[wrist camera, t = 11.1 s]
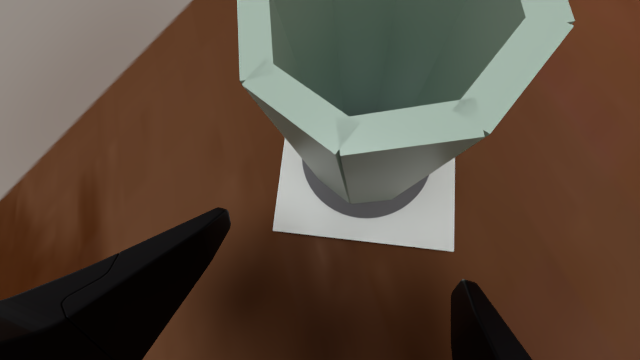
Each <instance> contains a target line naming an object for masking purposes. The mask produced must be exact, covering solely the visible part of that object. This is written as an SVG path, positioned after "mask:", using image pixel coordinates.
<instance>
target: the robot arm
mask: <svg viewBox="0 0 640 360" xmlns="http://www.w3.org/2000/svg"><path fill="white" fill-rule="evenodd" d="M230 226H231V222H230V217H229V212H228V210H226V209H223V208H215V209H213V210H211V211H209V212H206V213H204V214H202V215H200V216H198V217H196V218H193V219H191V220H189V221H187V222H185V223H183V224H180V225H178V226H176V227H174V228H172V229H169V230H167V231H165V232H163V233H161V234H159V235H156V236H154V237H152V238H150V239H148V240H146V241H143V242H141V243H139V244H137V245H135V246H132V247H130V248H128V249H126V250H124V251H122V252H120V253H117V254H115V255H113V256H111V257H108V258H106V259H104V260H102V261H99V262H97V263H95V264H93V265H90V266H88V267H86V268H83V269H81V270H78V271H76V272H74V273H71V274H69V275H66V276H64V277H61V278H59V279H56V280H53V281H51V282H48V283H46V284H43V285H41V286H38V287H36V288H33V289H31V290H28V291H26V292H23V293H20V294H18V295H15V296H13V297H10V298H7V299H4V300H0V360H142V359H143V358H144V356H145V355H146V353H147V352H148V350H149V349H150V348H151V346H152V345H153V343H154V342H155V341H156V339H157V338H158V336H159V335H160V333H161V332H162V331H163V329H164V328H165V326H166V325H167V324H168V322H169V321H170V319H171V318H172V316H173V315H174V314H175V312H176V311H177V309H178V308H179V306H180V305H181V304H182V302H183V301H184V299H185V298H186V297H187V295H188V294H189V292H190V291H191V289H192V288H193V287H194V285H195V284H196V282H197V281H198V280H199V278H200V277H201V275H202V274H203V272H204V271H205V270H206V268H207V267H208V265H209V264H210V262H211V261H212V259H213V257H214V256H215V254H216V252H217V250H218V249H219V247H220V245H221V243H222V242H223V240H224V238H225V236H226V234H227V233H228V231H229V229H230ZM451 349H452V359H453V360H532V359H531V357H530V356H529V355H528V353H527V352H526V351H525V349H524V348H523V346H522V345H521V344H520V342H519V341H518V340H517V338H516V337H515V335H514V334H513V333H512V331H511V330H510V329H509V327H508V326H507V324H506V323H505V322H504V320H503V319H502V317H501V316H500V315H499V313H498V312H497V311H496V309H495V308H494V306H493V305H492V304H491V302H490V301H489V300H488V298H487V297H486V295H485V294H484V293H483V291H482V290H481V289H480V287H479V286H478V285H477V284H476V283H475V282H472V281H468V280H465V279H463V280H461V281H460V282H459V284H458V285H457V286H456V288H455V289H454V290H453V292H452V295H451Z"/></svg>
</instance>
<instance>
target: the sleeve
mask: <svg viewBox="0 0 640 360" xmlns="http://www.w3.org/2000/svg"><path fill="white" fill-rule="evenodd" d="M237 12H238V41H239V69H240V82H241V83H242V86H243V87H244V88H245V89H246V90H247V92H248V93H249V94H250V95H251V97H252V98H253V99H254V100H255V101H256V103H257V104H258V105H259V106H260V108H261V109H262V110H263V111H264V113H265V114H266V115H267V116H268V117H269V119H270V120H271V121H272V122H273V124H274V125H275V126H276V127H277V128H278V130H279V131H280V132H281V133H282V135H283V136H284V137H285V138H286V140H287V141H288V142H289V143H290V144H291V146H292V147H293V148H294V149H295V151H296V152H297V153H298V154H299V156H300V157H301V158H302V159H303V160H304V162H305V163H306V164H307V165H308V167H309V168H310V169H311V170H312V171H313V173H314V174H315V175H316V176H317V178H318V179H319V180H320V181H321V182H323V183H324V184H325V185H326V186H328V187H329V188H330V189H332V190H333V191H334V192H335V193H337V194H338V195H339V196H340V197H342V198H343V199H344V200H345V201H347V202H348V203H351V204H356V203H365V202H375V201H384V200H392V199H393V198H395V197H396V196H398V195H399V194H401V193H402V192H404V191H405V190H407V189H408V188H410V187H411V186H413V185H414V184H416V183H417V182H419V181H420V180H422V179H423V178H425V177H426V176H428V175H429V174H431V173H432V172H434V171H435V170H437V169H438V168H440V167H441V166H443V165H444V164H446V163H447V162H449V161H450V160H452V159H453V158H455V157H456V156H458V155H459V154H461V153H462V152H464V151H465V150H467V149H468V148H470V147H471V146H473V145H474V144H476V143H477V142H479V141H480V140H482V139H483V138H485V137H486V136H488V135H489V134H490V133H491V132H492V131H493V129H494V128H495V127H496V126H497V124H498V123H499V122H500V120H501V119H502V118H503V117H504V115H505V114H506V113H507V111H508V110H509V109H510V108H511V106H512V105H513V104H514V102H515V101H516V100H517V99H518V97H519V96H520V95H521V93H522V92H523V91H524V90H525V88H526V87H527V86H528V84H529V83H530V82H531V80H532V79H533V78H534V77H535V75H536V74H537V73H538V71H539V70H540V69H541V68H542V66H543V65H544V64H545V62H546V61H547V60H548V59H549V57H550V56H551V55H552V53H553V52H554V51H555V50H556V48H557V47H558V46H559V44H560V43H561V42H562V41H563V39H564V38H565V37H566V35H567V34H568V33H569V32H570V30H571V29H572V28H573V25H571V24H572V23H573V22H574V21H575V20H574V17H573V14H572V11H571V8H570V6H569V3H568V0H237Z"/></svg>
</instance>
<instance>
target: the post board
mask: <svg viewBox="0 0 640 360" xmlns="http://www.w3.org/2000/svg"><path fill="white" fill-rule="evenodd" d="M454 201H455V158H453V159H452V160H450V161H449V162H447V163H446V164H444V165H443V166H441V167H440V168H438V169H437V170H435V171H434V172H432V173H431V174H429V175H428V176H426V177H425V178H423V179H422V180H420V181H419V182H417V183H416V184H414V185H413V186H411V187H410V188H408V189H407V190H405V191H404V192H402V193H401V194H399V195H398V196H396V197H395V198H393V199H392V200H384V201H375V202H365V203H356V204H351V203H348V202H347V201H345V200H344V199H343V198H342V197H340V196H339V195H338V194H337V193H335V192H334V191H333V190H332V189H330V188H329V187H328V186H326V185H325V184H324V183H323V182H321V181H320V180H319V179H318V178H317V176H316V175H315V174H314V173H313V171H312V170H311V169H310V168H309V167H308V165H307V164H306V163H305V162H304V160H303V159H302V158H301V157H300V156H299V154H298V153H297V152H296V151H295V149H294V148H293V147H292V146H291V144H290V143H289V142H288V141H287V140H286V138H285V141H284V149H283V156H282V164H281V171H280V179H279V186H278V194H277V201H276V209H275V216H274V224H273V231H279V232H288V233H297V234H305V235H314V236H322V237H331V238H340V239H348V240H357V241H366V242H374V243H383V244H392V245H400V246H409V247H418V248H426V249H435V250H444V251H452V252H454Z"/></svg>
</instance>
